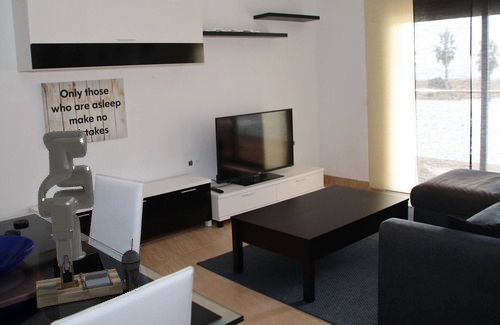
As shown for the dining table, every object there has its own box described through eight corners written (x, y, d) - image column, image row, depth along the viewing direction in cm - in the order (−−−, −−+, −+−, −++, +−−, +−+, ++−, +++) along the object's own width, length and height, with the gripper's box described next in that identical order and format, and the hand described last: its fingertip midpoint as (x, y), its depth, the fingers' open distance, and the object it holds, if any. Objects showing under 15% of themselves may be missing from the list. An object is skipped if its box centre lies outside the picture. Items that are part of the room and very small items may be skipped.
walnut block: (61, 287, 198) (59, 262, 196) (73, 285, 199) (71, 260, 198) (62, 291, 194) (59, 266, 192) (74, 289, 195) (72, 264, 194)
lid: (84, 280, 199) (84, 274, 199) (107, 276, 202) (106, 270, 202) (86, 288, 191) (86, 282, 191) (110, 284, 194) (110, 278, 194)
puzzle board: (37, 289, 201) (36, 279, 200) (115, 276, 212) (115, 267, 211) (37, 308, 184) (36, 297, 184) (123, 293, 196) (122, 282, 195)
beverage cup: (119, 289, 199) (115, 239, 196) (135, 284, 204) (132, 235, 201) (129, 294, 194) (126, 243, 191) (146, 289, 199) (143, 238, 196)
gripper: (51, 229, 199) (55, 272, 202) (53, 241, 184) (57, 287, 186) (72, 227, 202) (75, 269, 205) (75, 239, 186) (79, 284, 189)
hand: (67, 277), depth 196 cm, fingers open, 9 cm apart
